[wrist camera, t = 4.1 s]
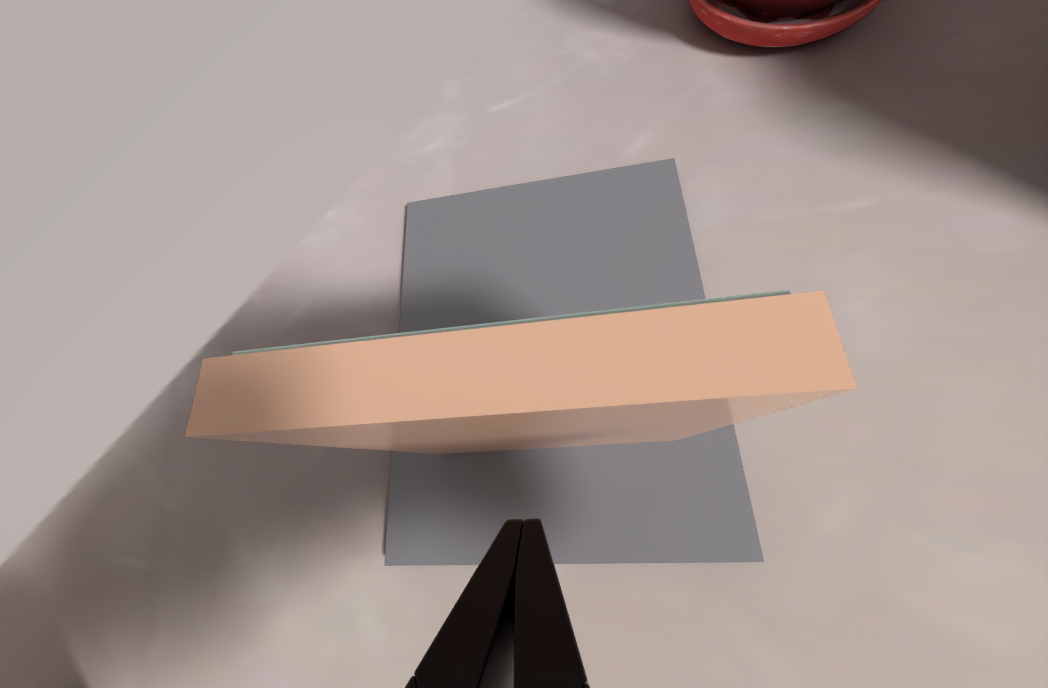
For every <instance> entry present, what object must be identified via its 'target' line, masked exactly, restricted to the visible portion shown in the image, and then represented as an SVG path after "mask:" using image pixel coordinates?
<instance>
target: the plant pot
mask: <svg viewBox="0 0 1048 688" xmlns="http://www.w3.org/2000/svg"><path fill="white" fill-rule="evenodd" d="M881 1H882V0H689V3H690V5H691V7H692V9H693V11H694V12H695V14H696V15H697V16H698V18H699V19H700V20H701V21H702V22H703V23H704V24H705V25H706V26H708V27H709V28H710V29H712V30H713V31H715V32H716V33H718V34H720V35H721V36H723V37H725V38H728V39H730V40H733V41H736V42H739V43H743V44H748V45H754V46H761V47H786V46H794V45H800V44H805V43H809V42H813V41H816V40H820V39H822V38H825V37H828V36H830V35H833V34H835V33H837V32H839V31H841V30H843V29H845V28H847V27H849V26H850V25H852V24H854V23H855V22H857V21H858V20H860V19H861V18H863V17H864V16H866V15H867V14H868V13H869V12H871V11H872V10H873V9H874V8H875V7H876V6H877V5H878V4H879V3H880V2H881Z"/></svg>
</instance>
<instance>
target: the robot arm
mask: <svg viewBox="0 0 1048 688" xmlns="http://www.w3.org/2000/svg"><path fill="white" fill-rule="evenodd" d="M414 674H415V676H412V677H411V678H410V680H409V682H408V683H407V685H406V687H405V688H590V686H589V685H588V681H587V677H586V673H585V670H584V666H583V663H582V659H581V656H580V652H579V649H578V646H577V642H576V639H575V635H574V632H573V628H572V625H571V621H570V618H569V614H568V611H567V608H566V604H565V601H564V597H563V594H562V590H561V587H560V583H559V580H558V576H557V573H556V570H555V566H554V563H553V559H552V556H551V552H550V549H549V545H548V542H547V538H546V535H545V532H544V528H543V525H542V521H541V520H540V519H539V518H532V519H525V520H524V521H523V519H508V520H506V521H505V523H504V524H503V526H502V528H501V529H500V531H499V533H498V534H497V536H496V538H495V539H494V541H493V542H492V544H491V546H490V547H489V549H488V551H487V552H486V554H485V556H484V557H483V559H482V561H481V562H480V564H479V566H478V567H477V569H476V571H475V572H474V574H473V576H472V577H471V579H470V581H469V582H468V584H467V586H466V587H465V589H464V591H463V592H462V594H461V596H460V597H459V599H458V601H457V602H456V604H455V606H454V607H453V609H452V611H451V612H450V614H449V616H448V617H447V619H446V621H445V622H444V624H443V626H442V627H441V629H440V631H439V632H438V634H437V636H436V637H435V639H434V641H433V642H432V644H431V645H430V647H429V649H428V650H427V652H426V654H425V655H424V657H423V659H422V660H421V662H420V664H419V665H418V667H417V669H416V670H415V673H414Z"/></svg>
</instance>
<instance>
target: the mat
mask: <svg viewBox="0 0 1048 688" xmlns="http://www.w3.org/2000/svg"><path fill="white" fill-rule="evenodd" d="M701 299H705V295H704V290H703V286H702V281H701V277H700V272H699V268H698V263H697V259H696V254H695V250H694V245H693V241H692V236H691V232H690V227H689V223H688V218H687V214H686V209H685V205H684V200H683V196H682V191H681V187H680V182H679V178H678V173H677V169H676V164H675V160H674V158H673V159H667V160H661V161H655V162H649V163H643V164H637V165H631V166H625V167H619V168H613V169H607V170H601V171H595V172H589V173H583V174H577V175H571V176H565V177H559V178H553V179H547V180H541V181H535V182H529V183H523V184H517V185H511V186H505V187H499V188H493V189H487V190H481V191H475V192H469V193H463V194H457V195H451V196H445V197H439V198H433V199H427V200H422V201H416V202H410V203H407V218H406V234H405V250H404V266H403V282H402V297H401V313H400V329H399V333H404V332H413V331H422V330H431V329H440V328H449V327H458V326H467V325H476V324H485V323H494V322H503V321H512V320H521V319H530V318H539V317H548V316H557V315H566V314H575V313H584V312H593V311H602V310H611V309H620V308H629V307H638V306H647V305H656V304H665V303H674V302H683V301H692V300H701ZM532 518H539V519H540V520H541V521H542V525H543V528H544V532H545V535H546V538H547V542H548V545H549V549H550V552H551V556H552V559H553V563H554V564H593V563H693V562H764V560H763V555H762V551H761V546H760V542H759V537H758V533H757V528H756V524H755V519H754V515H753V510H752V506H751V501H750V497H749V492H748V488H747V483H746V479H745V474H744V470H743V465H742V461H741V456H740V452H739V447H738V443H737V438H736V434H735V429H734V425H733V424H731V425H728V426H725V427H721V428H718V429H714V430H711V431H707V432H704V433H700V434H697V435H693V436H690V437H686V438H683V439H679V440H676V441H660V442H642V443H625V444H607V445H590V446H573V447H555V448H538V449H520V450H503V451H485V452H468V453H451V454H429V453H415V452H400V451H392V455H391V471H390V487H389V502H388V518H387V534H386V550H385V565H384V566H391V565H479V564H480V562H481V561H482V559H483V557H484V556H485V554H486V552H487V551H488V549H489V547H490V546H491V544H492V542H493V541H494V539H495V538H496V536H497V534H498V533H499V531H500V529H501V528H502V526H503V524H504V523H505V521H506V520H508V519H523V521H524V520H525V519H532Z"/></svg>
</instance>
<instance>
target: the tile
mask: <svg viewBox="0 0 1048 688" xmlns="http://www.w3.org/2000/svg"><path fill="white" fill-rule="evenodd" d="M856 388H857V386H856V383H855V380H854V377H853V374H852V371H851V368H850V365H849V363H848V360H847V357H846V354H845V351H844V348H843V345H842V342H841V339H840V336H839V333H838V330H837V327H836V324H835V321H834V318H833V315H832V312H831V309H830V306H829V303H828V300H827V297H826V294H825V291H815V292H806V293H797V294H790V291H789V290H782V291H773V292H764V293H755V294H746V295H737V296H728V297H719V298H710V299H701V300H692V301H683V302H674V303H665V304H656V305H647V306H638V307H629V308H620V309H611V310H602V311H593V312H584V313H575V314H566V315H557V316H548V317H539V318H530V319H521V320H512V321H503V322H494V323H485V324H476V325H467V326H458V327H449V328H440V329H431V330H422V331H413V332H404V333H395V334H386V335H377V336H368V337H359V338H350V339H341V340H332V341H323V342H314V343H305V344H296V345H287V346H278V347H269V348H260V349H251V350H242V351H233V352H232V355H230V356H221V357H212V358H203V361H202V366H201V370H200V374H199V378H198V383H197V387H196V391H195V395H194V400H193V404H192V408H191V412H190V416H189V421H188V425H187V429H186V433H185V437H190V438H205V439H220V440H235V441H250V442H265V443H280V444H295V445H310V446H325V447H340V448H355V449H370V450H385V451H400V452H415V453H429V454H451V453H468V452H485V451H503V450H520V449H538V448H555V447H573V446H590V445H607V444H625V443H642V442H660V441H676V440H679V439H683V438H686V437H690V436H693V435H697V434H700V433H704V432H707V431H711V430H714V429H718V428H721V427H725V426H728V425H731V424H735V423H738V422H742V421H745V420H749V419H752V418H756V417H759V416H763V415H766V414H770V413H773V412H777V411H780V410H784V409H787V408H790V407H794V406H797V405H801V404H804V403H808V402H811V401H815V400H818V399H822V398H825V397H829V396H832V395H836V394H839V393H842V392H846V391H849V390H853V389H856Z"/></svg>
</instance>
